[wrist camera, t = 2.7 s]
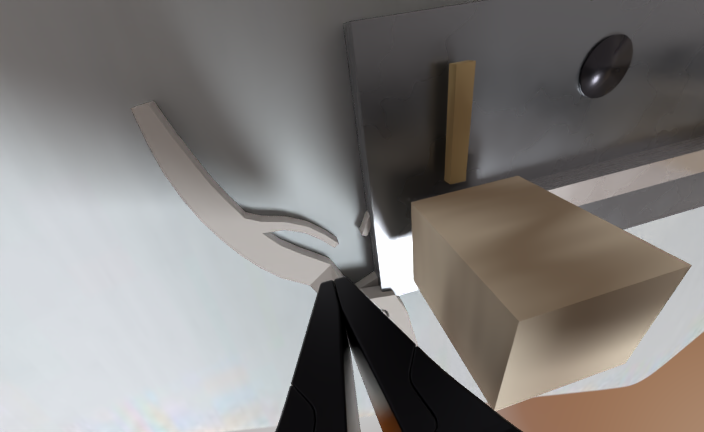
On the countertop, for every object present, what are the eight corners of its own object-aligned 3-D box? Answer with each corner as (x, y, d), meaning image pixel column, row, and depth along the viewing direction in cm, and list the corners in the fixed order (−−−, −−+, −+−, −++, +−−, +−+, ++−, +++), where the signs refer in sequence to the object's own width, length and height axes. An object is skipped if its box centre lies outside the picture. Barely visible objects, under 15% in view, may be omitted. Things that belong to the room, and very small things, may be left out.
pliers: (465, 9, 8) (471, 328, 16) (436, 14, 9) (456, 306, 17) (105, 117, 7) (304, 394, 15) (131, 106, 8) (302, 367, 17)
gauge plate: (876, -60, 11) (1570, -184, 5) (722, 186, 17) (966, 261, 11) (343, 23, 8) (523, -39, 2) (376, 285, 14) (453, 458, 8)
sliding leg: (518, 50, 9) (835, 54, 4) (488, 241, 13) (625, 363, 8) (394, 73, 8) (577, 112, 3) (404, 265, 12) (494, 411, 7)
